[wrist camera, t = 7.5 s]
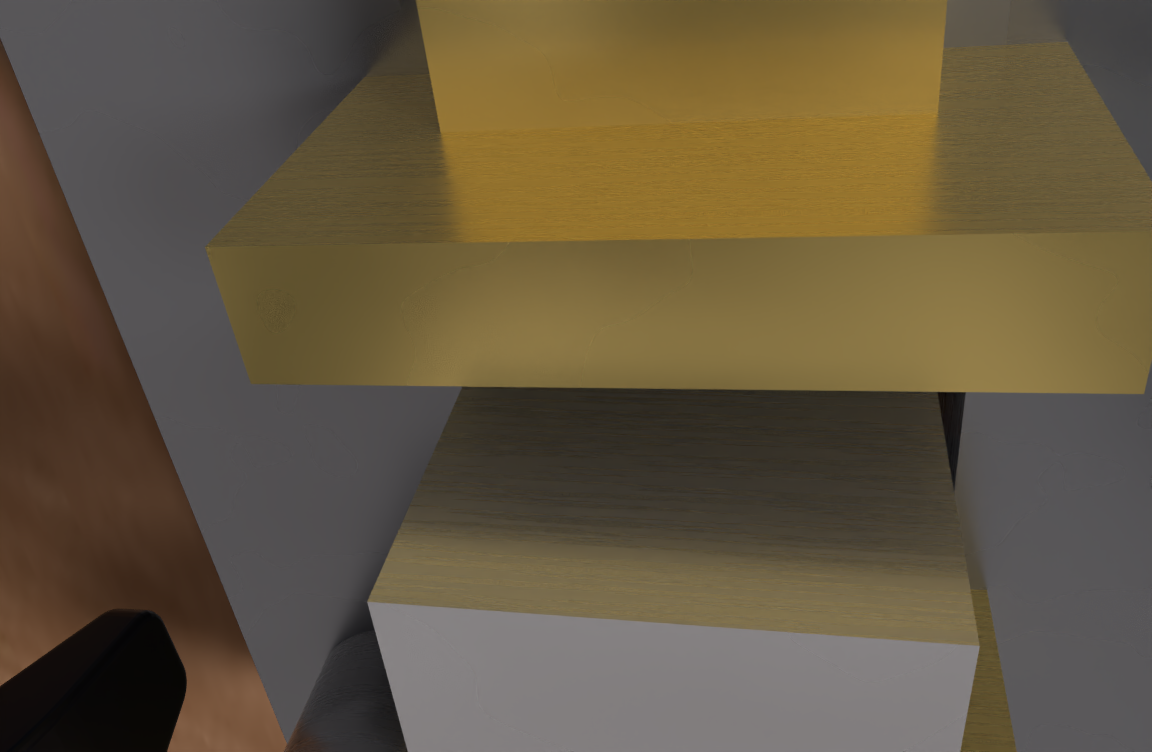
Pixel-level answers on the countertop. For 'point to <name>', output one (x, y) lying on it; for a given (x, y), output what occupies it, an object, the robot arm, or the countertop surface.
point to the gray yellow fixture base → (626, 278)
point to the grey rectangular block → (681, 575)
